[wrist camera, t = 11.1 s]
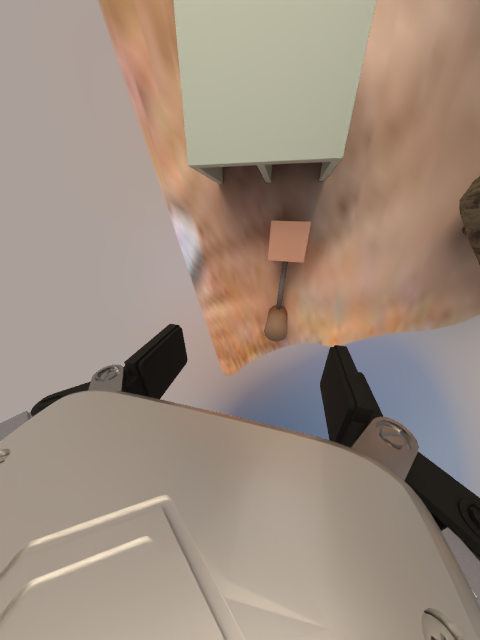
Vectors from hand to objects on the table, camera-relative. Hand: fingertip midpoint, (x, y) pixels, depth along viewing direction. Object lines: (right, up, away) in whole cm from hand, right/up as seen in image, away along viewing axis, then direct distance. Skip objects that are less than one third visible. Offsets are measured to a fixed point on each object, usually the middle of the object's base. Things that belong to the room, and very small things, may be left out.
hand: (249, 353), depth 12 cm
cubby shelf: (+4, +27, +12) cm, 30 cm away
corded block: (+7, +9, +20) cm, 23 cm away
